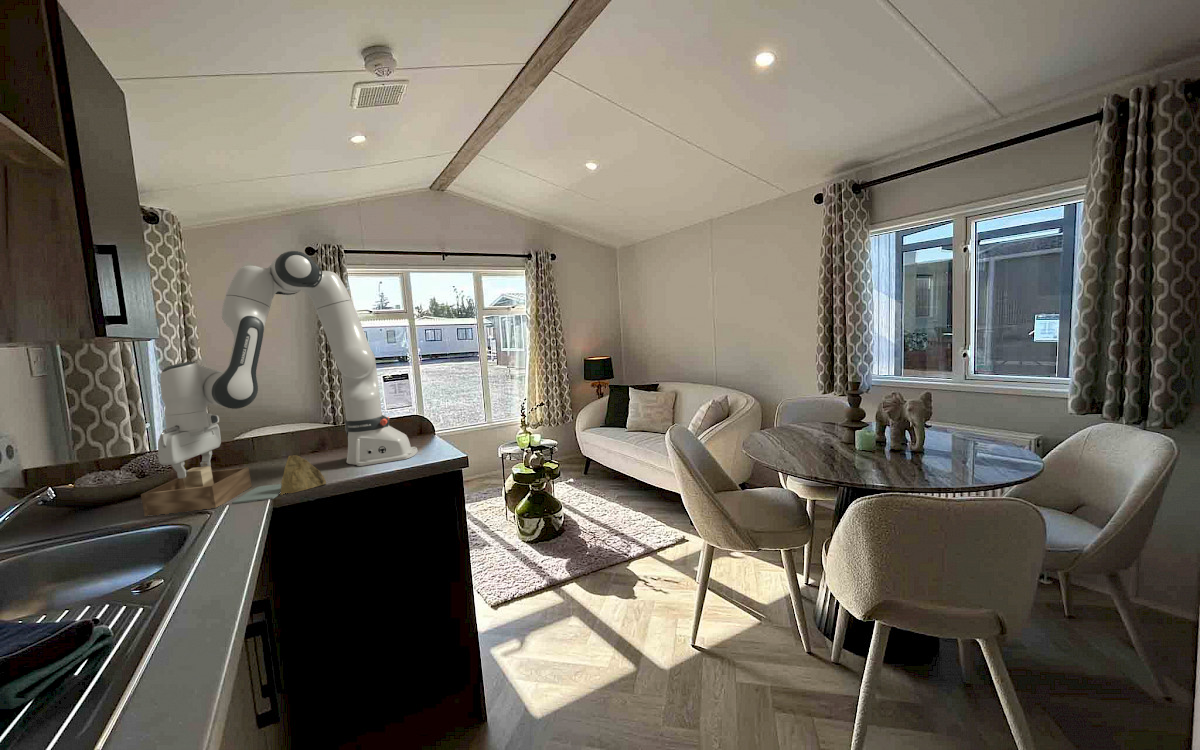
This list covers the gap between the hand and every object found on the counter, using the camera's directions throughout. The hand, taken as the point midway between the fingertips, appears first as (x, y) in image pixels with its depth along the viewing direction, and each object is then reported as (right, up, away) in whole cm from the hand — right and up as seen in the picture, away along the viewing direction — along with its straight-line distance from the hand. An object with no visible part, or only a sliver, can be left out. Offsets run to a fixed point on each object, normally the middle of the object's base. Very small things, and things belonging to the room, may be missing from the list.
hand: (195, 472), depth 137 cm
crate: (+1, -8, +1) cm, 8 cm away
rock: (+27, -6, +5) cm, 28 cm away
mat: (+17, -7, +3) cm, 18 cm away
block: (+1, -6, +1) cm, 6 cm away
